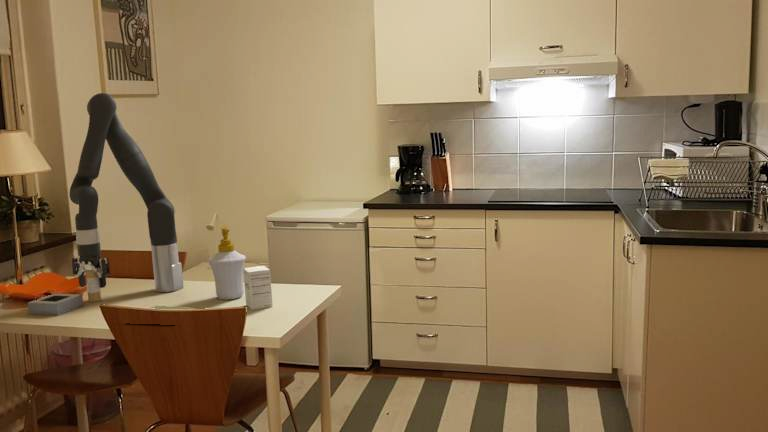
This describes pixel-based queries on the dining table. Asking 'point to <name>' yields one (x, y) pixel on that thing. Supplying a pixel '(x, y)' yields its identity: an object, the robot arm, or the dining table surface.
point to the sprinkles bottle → (92, 284)
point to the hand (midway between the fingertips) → (92, 286)
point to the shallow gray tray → (55, 304)
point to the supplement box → (258, 287)
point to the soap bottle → (228, 269)
